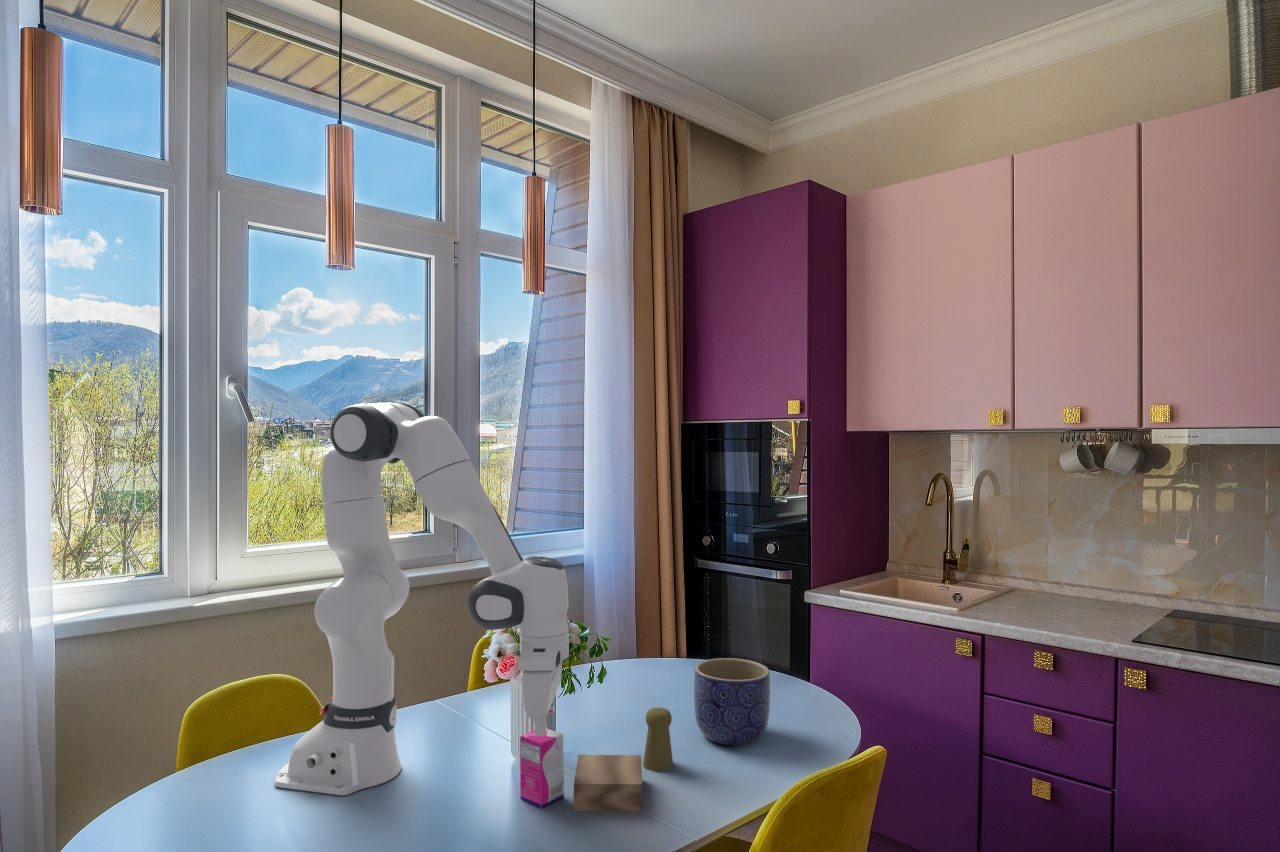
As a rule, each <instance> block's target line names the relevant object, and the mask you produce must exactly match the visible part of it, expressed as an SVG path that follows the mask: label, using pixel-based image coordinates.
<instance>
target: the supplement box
mask: <svg viewBox="0 0 1280 852" xmlns="http://www.w3.org/2000/svg"><path fill="white" fill-rule="evenodd" d="M546 729H547V731H546V733H545V735H544V736H537V735H536V734H535V729H534V730H532V731H529V732H527V733H525V734H522V735H520V736H519V753H520V755H519V758H520V759H519V766H520V767H519V768H520V773H519V774H520V776H519V777H520V782H519V783H520V784H519V785H520V788H519V789H520V796H519V797H520V800H524V801H525V802H527V803H529V804H531V805H533V806H536V807H538V808H541V809H543V808H545V807H546V806H549V805H551V804H552V803H554V802H557V801H559V800H561V799H562V798H564V797H565V791H564V789H565V787H564V785H565V780H564V777H565V776H564V775H565V773H564V771H565V770H564V734H563V733H562V732H558V731H555V730H551V729H549V728H547V727H546Z"/></svg>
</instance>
